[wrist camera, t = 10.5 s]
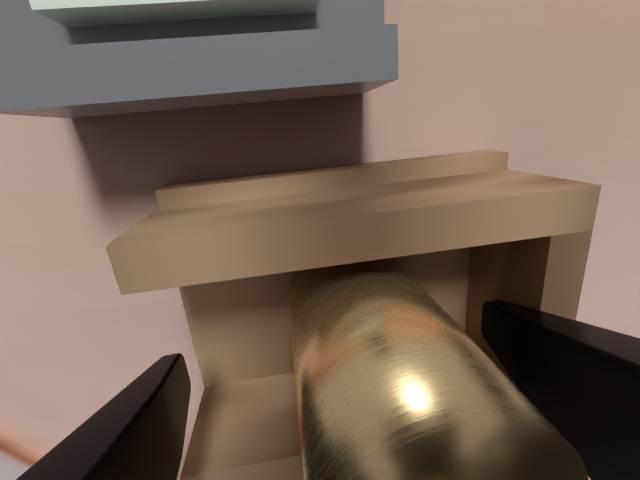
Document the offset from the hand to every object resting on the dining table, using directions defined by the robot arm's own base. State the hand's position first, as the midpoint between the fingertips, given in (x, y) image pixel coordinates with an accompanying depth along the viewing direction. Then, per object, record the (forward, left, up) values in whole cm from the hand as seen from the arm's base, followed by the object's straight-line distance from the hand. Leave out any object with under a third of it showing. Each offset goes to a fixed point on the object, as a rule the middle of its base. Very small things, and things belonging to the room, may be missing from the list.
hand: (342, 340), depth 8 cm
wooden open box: (-1, 0, -3) cm, 3 cm away
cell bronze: (-1, 0, -2) cm, 2 cm away
